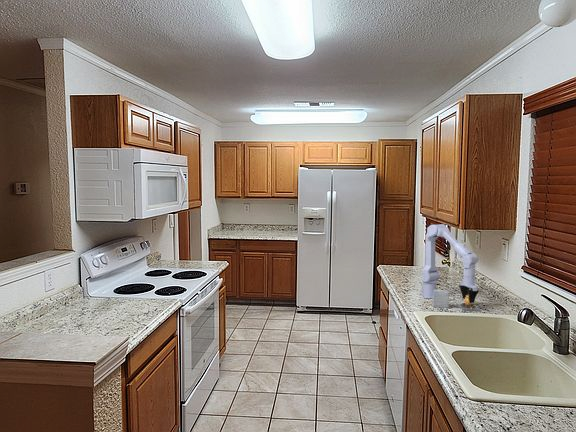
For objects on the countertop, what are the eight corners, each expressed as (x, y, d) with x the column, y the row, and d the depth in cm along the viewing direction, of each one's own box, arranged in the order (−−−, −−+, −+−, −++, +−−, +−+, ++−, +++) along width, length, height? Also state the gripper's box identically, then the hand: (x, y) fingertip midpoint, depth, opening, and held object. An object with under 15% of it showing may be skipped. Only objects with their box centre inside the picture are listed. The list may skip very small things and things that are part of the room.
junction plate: (455, 305, 216) (456, 301, 216) (472, 305, 216) (472, 302, 216) (463, 310, 206) (463, 307, 206) (480, 311, 205) (480, 307, 205)
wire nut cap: (463, 305, 213) (464, 294, 212) (470, 305, 212) (470, 294, 212) (465, 307, 209) (466, 296, 209) (472, 307, 209) (472, 296, 209)
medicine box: (447, 305, 215) (448, 290, 214) (448, 308, 210) (449, 292, 210) (432, 304, 217) (432, 289, 216) (433, 307, 212) (433, 291, 212)
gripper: (455, 273, 217) (454, 296, 218) (468, 279, 202) (467, 304, 203) (468, 273, 217) (467, 296, 218) (481, 279, 202) (480, 304, 203)
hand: (468, 300), depth 211 cm, fingers open, 7 cm apart
